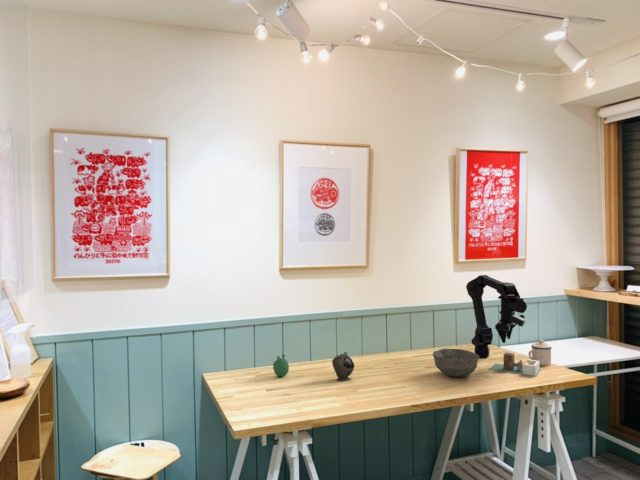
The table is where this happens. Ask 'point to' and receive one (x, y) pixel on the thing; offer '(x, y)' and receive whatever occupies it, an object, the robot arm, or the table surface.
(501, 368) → the pitch
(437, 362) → the bowl
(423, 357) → the table surface
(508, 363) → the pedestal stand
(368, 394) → the table surface
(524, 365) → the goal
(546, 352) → the teacup with lid
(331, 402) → the table surface
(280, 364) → the alien toy
